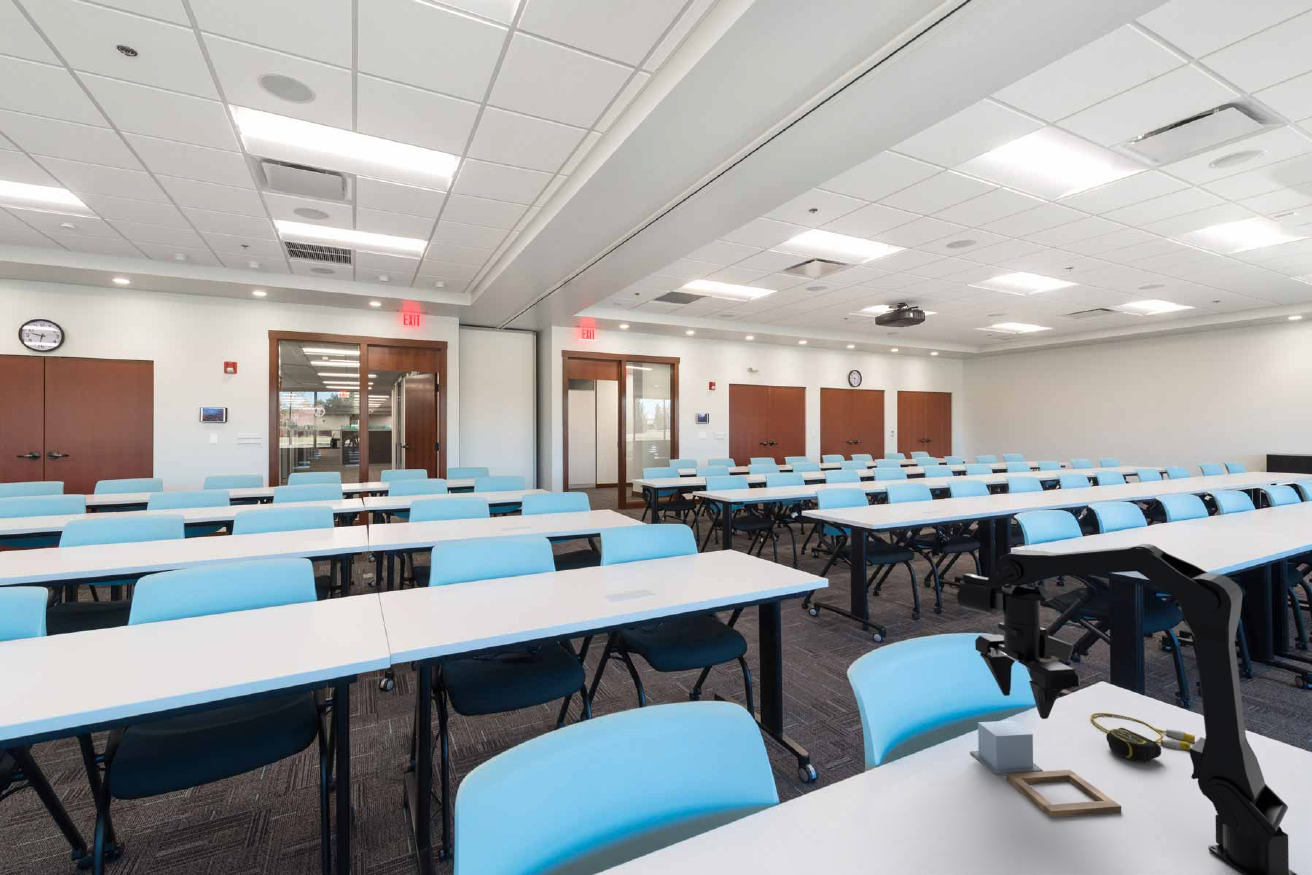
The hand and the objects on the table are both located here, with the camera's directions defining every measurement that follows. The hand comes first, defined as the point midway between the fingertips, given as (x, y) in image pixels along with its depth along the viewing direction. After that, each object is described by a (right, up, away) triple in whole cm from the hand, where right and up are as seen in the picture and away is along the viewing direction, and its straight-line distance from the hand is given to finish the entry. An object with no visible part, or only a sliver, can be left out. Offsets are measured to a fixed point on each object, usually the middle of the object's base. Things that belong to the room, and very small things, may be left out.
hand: (1024, 706), depth 102 cm
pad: (-2, -11, +2) cm, 11 cm away
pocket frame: (+1, -11, -8) cm, 14 cm away
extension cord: (+31, -12, +12) cm, 35 cm away
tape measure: (+23, -11, +4) cm, 26 cm away
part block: (-2, -11, +2) cm, 11 cm away
